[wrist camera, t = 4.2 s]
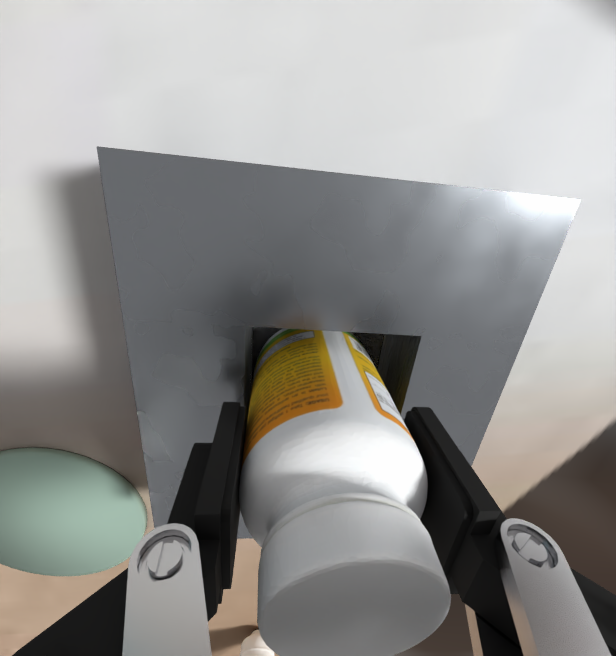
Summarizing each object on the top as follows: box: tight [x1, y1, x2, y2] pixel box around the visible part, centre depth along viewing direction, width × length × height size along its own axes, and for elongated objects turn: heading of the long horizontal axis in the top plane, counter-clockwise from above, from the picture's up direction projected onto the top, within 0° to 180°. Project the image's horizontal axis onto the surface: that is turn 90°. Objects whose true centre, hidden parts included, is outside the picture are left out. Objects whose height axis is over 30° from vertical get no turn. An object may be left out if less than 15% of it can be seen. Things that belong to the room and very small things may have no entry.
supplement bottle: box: [239, 328, 451, 656], centre depth 11 cm, size 5×5×10 cm
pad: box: [0, 448, 147, 576], centre depth 18 cm, size 10×10×1 cm
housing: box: [97, 147, 581, 538], centre depth 14 cm, size 16×14×4 cm
